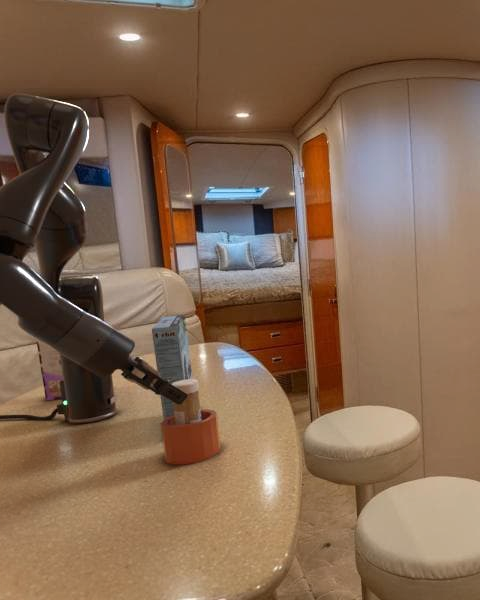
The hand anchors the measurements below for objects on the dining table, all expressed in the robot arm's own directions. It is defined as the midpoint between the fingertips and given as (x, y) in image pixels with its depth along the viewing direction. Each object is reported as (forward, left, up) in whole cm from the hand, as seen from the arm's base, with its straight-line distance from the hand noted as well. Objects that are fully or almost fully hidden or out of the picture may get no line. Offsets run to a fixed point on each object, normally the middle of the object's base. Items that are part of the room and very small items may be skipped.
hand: (177, 395), depth 93 cm
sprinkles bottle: (+1, +1, -11) cm, 11 cm away
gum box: (-12, +17, -12) cm, 24 cm away
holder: (+1, +1, -12) cm, 12 cm away
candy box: (-57, +39, -12) cm, 70 cm away
